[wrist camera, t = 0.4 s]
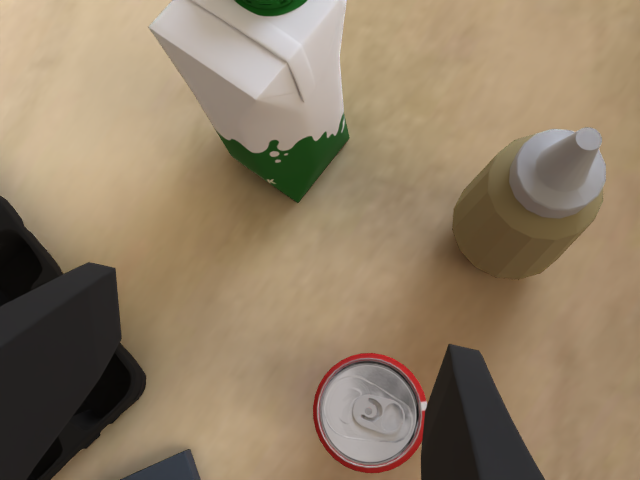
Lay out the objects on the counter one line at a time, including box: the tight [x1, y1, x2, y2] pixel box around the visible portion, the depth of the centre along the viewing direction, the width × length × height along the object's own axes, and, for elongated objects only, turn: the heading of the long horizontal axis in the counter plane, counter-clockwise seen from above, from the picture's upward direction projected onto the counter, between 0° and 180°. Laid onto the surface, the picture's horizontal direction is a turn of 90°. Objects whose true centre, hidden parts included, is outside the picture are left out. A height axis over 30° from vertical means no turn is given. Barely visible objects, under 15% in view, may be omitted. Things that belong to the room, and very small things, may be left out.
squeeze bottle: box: [452, 127, 606, 280], centre depth 34 cm, size 8×8×18 cm
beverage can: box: [313, 353, 427, 473], centre depth 33 cm, size 6×6×15 cm
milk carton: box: [149, 0, 349, 203], centre depth 36 cm, size 9×9×20 cm
